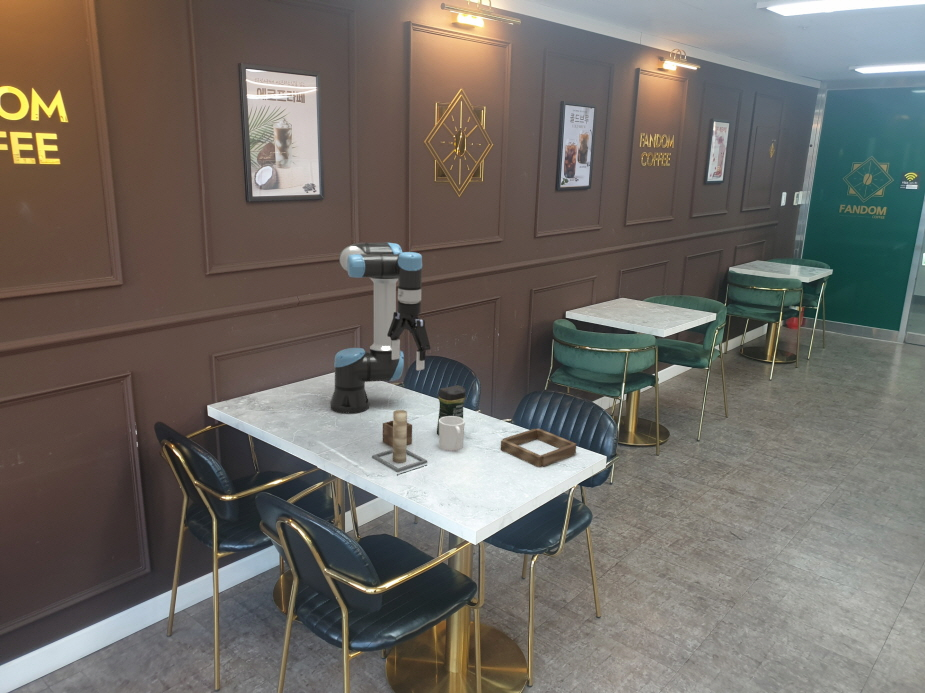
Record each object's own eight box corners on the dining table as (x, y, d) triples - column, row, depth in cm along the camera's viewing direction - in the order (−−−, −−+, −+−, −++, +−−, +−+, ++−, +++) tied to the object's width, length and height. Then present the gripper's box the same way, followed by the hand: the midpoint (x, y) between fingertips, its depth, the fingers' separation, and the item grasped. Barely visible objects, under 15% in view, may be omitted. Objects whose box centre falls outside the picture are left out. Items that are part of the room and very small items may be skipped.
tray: (371, 460, 231) (371, 455, 231) (401, 451, 239) (401, 446, 239) (397, 475, 221) (397, 470, 221) (427, 465, 229) (427, 460, 229)
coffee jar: (446, 442, 249) (448, 392, 244) (433, 435, 255) (434, 386, 250) (467, 436, 255) (469, 387, 250) (454, 429, 261) (455, 381, 256)
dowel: (389, 460, 230) (390, 411, 226) (400, 457, 233) (401, 408, 229) (398, 465, 227) (398, 415, 223) (408, 461, 230) (409, 412, 226)
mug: (434, 445, 246) (434, 417, 243) (457, 442, 249) (458, 414, 247) (445, 457, 236) (446, 428, 233) (470, 454, 239) (471, 425, 237)
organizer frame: (498, 449, 245) (499, 439, 244) (536, 436, 257) (536, 427, 256) (540, 468, 231) (540, 458, 230) (577, 453, 243) (578, 444, 243)
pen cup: (382, 444, 244) (382, 423, 242) (399, 440, 249) (399, 418, 247) (394, 451, 239) (395, 429, 237) (411, 446, 244) (412, 424, 242)
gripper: (377, 295, 233) (376, 356, 239) (423, 310, 215) (421, 376, 221) (396, 292, 238) (394, 352, 244) (442, 307, 220) (440, 372, 226)
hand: (407, 364), depth 233 cm, fingers open, 13 cm apart
